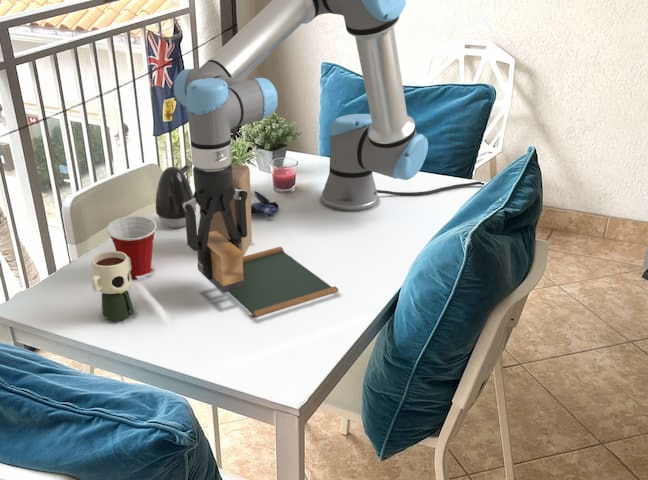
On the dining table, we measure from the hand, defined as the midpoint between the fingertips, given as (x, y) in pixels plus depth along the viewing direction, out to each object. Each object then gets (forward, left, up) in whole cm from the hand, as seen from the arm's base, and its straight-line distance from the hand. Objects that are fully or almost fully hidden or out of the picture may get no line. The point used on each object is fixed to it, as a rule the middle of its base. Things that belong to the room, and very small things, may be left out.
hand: (220, 273), depth 146 cm
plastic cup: (+11, -20, -6) cm, 24 cm away
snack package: (-29, -36, -6) cm, 46 cm away
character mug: (+21, -5, -6) cm, 23 cm away
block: (-12, -20, -6) cm, 24 cm away
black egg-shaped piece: (-8, -41, -6) cm, 42 cm away
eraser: (0, 0, -1) cm, 1 cm away
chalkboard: (-12, 0, -6) cm, 13 cm away
